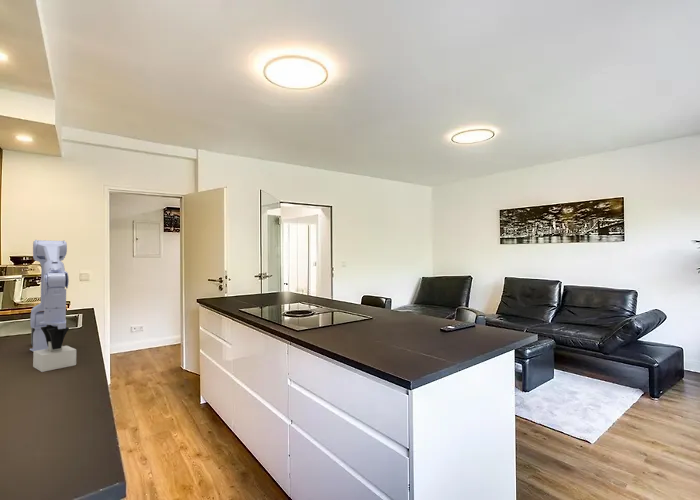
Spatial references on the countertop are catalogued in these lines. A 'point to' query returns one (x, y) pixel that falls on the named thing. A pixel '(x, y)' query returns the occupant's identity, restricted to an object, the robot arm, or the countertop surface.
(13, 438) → the countertop surface
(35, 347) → the robot arm
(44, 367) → the grey knobbed block
